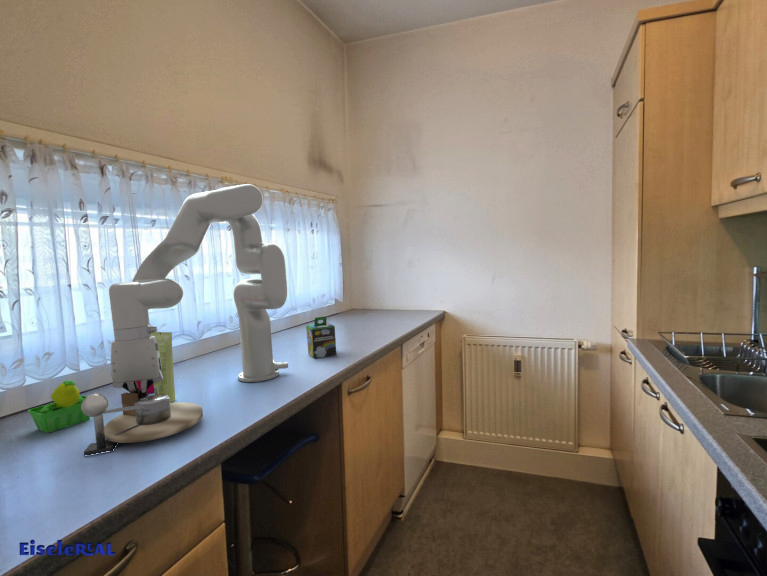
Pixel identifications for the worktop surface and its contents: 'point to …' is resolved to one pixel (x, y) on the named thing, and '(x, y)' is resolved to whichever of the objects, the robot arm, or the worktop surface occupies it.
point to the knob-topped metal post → (100, 421)
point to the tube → (165, 365)
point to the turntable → (130, 431)
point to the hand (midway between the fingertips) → (141, 407)
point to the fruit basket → (60, 409)
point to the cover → (153, 409)
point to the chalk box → (321, 339)
